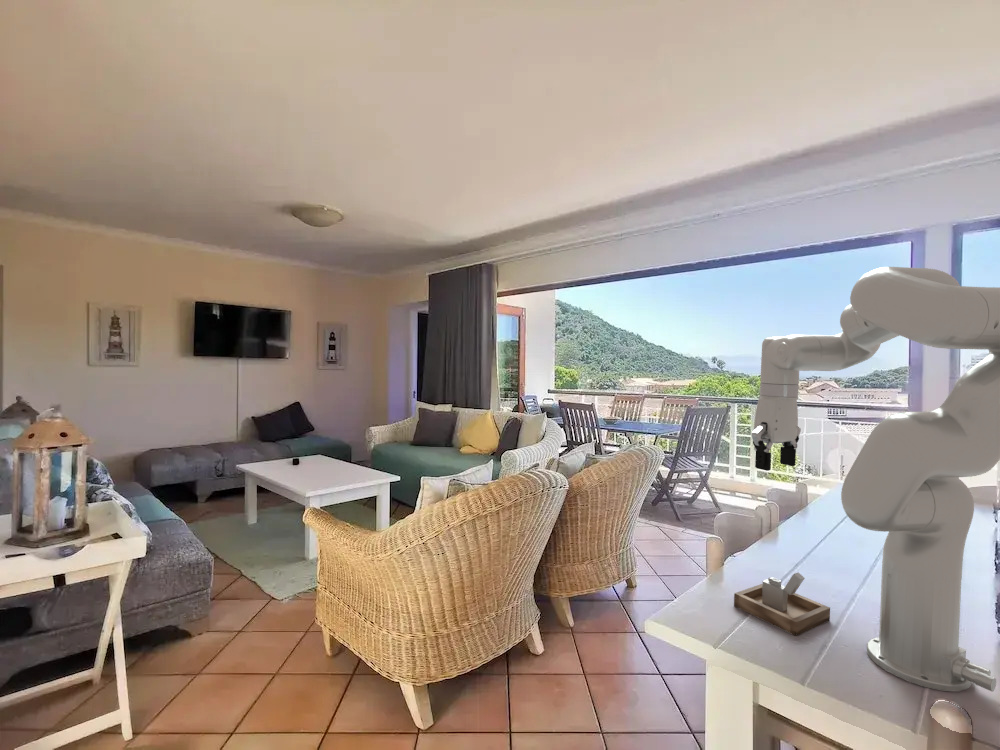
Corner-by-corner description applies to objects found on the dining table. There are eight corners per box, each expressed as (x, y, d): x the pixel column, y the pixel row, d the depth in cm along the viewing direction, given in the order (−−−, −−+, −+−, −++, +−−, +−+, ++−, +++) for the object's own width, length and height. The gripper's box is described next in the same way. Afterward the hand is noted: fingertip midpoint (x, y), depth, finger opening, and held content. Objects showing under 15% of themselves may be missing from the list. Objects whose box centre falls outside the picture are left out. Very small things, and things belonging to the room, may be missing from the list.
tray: (829, 620, 91) (830, 607, 91) (795, 636, 86) (796, 622, 86) (767, 593, 101) (767, 581, 101) (733, 605, 96) (734, 593, 96)
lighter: (761, 602, 96) (762, 562, 96) (766, 600, 97) (768, 560, 97) (798, 619, 90) (800, 576, 90) (803, 617, 91) (805, 574, 90)
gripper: (783, 389, 117) (780, 460, 118) (739, 391, 109) (736, 467, 109) (817, 392, 111) (813, 466, 112) (772, 394, 102) (769, 475, 103)
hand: (775, 467), depth 110 cm, fingers open, 9 cm apart
